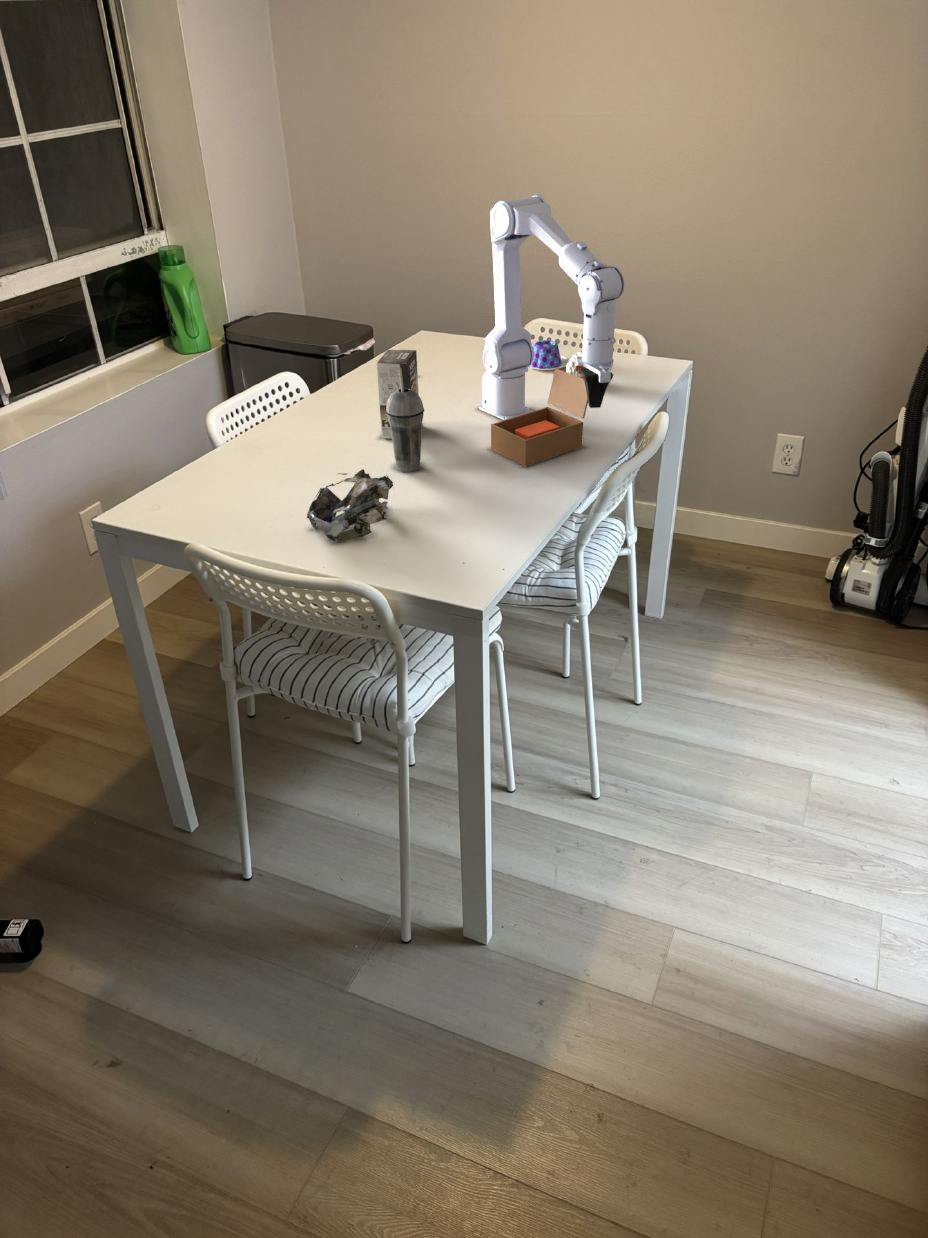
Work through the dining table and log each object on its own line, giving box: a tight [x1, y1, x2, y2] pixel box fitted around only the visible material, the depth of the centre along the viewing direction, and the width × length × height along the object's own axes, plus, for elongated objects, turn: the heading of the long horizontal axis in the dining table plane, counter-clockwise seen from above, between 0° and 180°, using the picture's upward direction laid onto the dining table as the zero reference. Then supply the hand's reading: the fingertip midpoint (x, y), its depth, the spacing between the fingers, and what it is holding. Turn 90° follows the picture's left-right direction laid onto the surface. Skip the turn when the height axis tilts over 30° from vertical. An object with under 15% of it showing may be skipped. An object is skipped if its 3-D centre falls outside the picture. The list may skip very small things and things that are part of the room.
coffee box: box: [376, 349, 420, 440], centre depth 196 cm, size 9×6×16 cm
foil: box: [306, 468, 394, 544], centre depth 164 cm, size 12×11×15 cm
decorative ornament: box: [565, 350, 586, 378], centre depth 217 cm, size 8×8×15 cm
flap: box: [547, 368, 589, 420], centre depth 190 cm, size 7×11×1 cm
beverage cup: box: [386, 368, 425, 473], centre depth 180 cm, size 7×7×20 cm
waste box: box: [490, 406, 584, 468], centre depth 190 cm, size 15×11×5 cm
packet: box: [515, 420, 559, 440], centre depth 190 cm, size 4×8×4 cm, turn 127°
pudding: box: [528, 339, 570, 371], centre depth 233 cm, size 12×12×5 cm
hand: (594, 406), depth 184 cm, fingers closed
